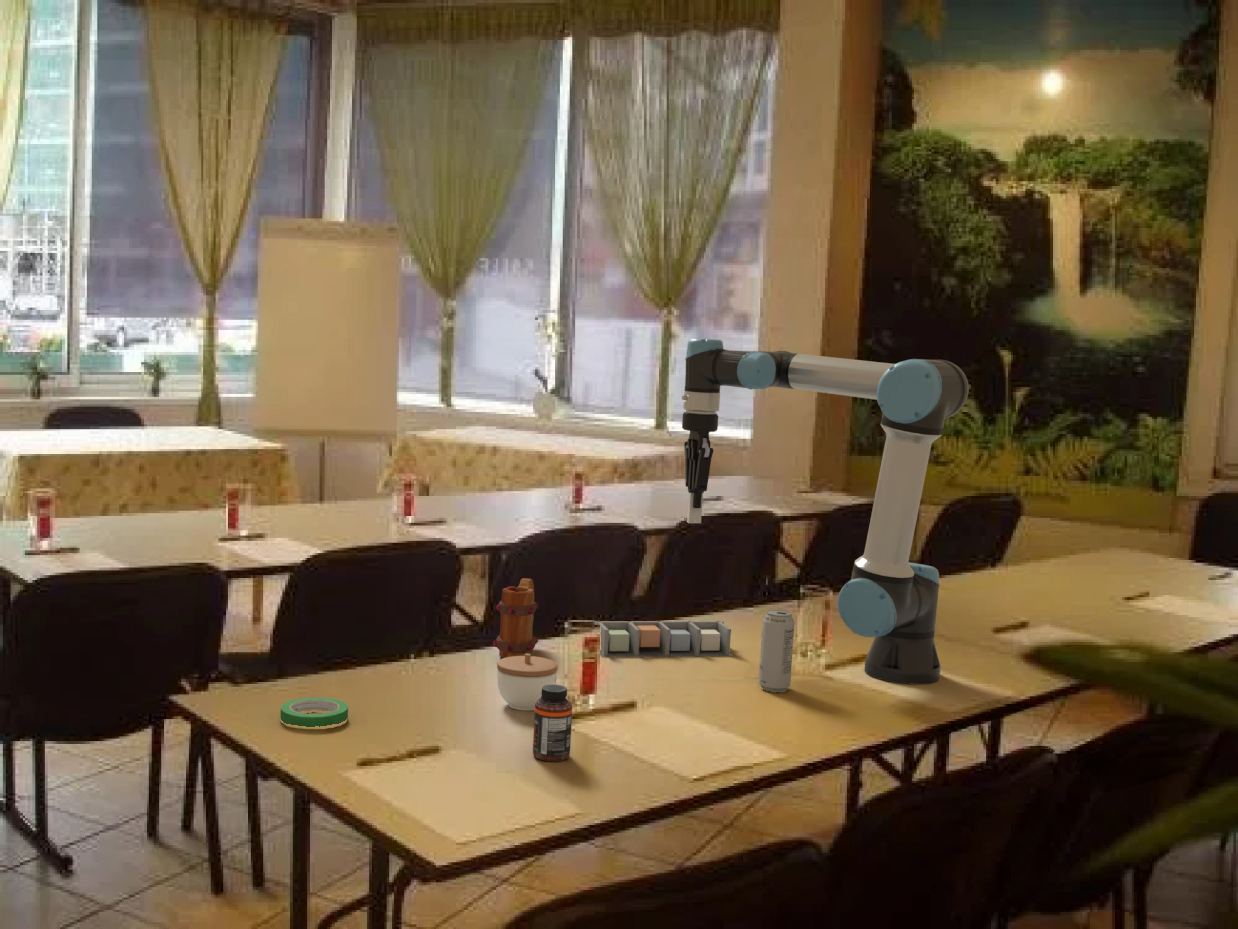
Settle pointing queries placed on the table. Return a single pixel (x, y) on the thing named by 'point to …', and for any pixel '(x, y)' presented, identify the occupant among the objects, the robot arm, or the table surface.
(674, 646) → the slate key
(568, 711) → the supplement bottle
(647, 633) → the terracotta key
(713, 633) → the ivory key
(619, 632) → the sage key
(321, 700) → the tape roll
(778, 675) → the energy drink can
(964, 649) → the table surface
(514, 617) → the mug
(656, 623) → the grey compartment rack
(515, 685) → the lidded jar
